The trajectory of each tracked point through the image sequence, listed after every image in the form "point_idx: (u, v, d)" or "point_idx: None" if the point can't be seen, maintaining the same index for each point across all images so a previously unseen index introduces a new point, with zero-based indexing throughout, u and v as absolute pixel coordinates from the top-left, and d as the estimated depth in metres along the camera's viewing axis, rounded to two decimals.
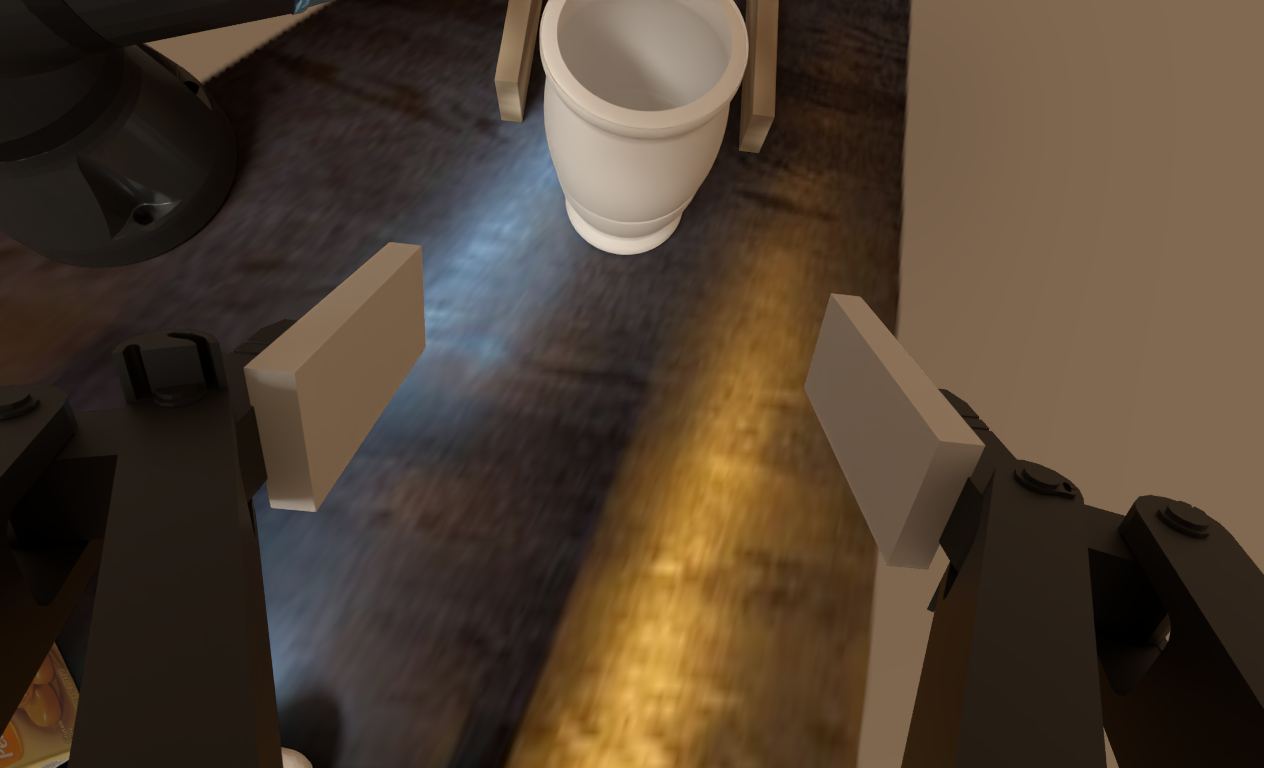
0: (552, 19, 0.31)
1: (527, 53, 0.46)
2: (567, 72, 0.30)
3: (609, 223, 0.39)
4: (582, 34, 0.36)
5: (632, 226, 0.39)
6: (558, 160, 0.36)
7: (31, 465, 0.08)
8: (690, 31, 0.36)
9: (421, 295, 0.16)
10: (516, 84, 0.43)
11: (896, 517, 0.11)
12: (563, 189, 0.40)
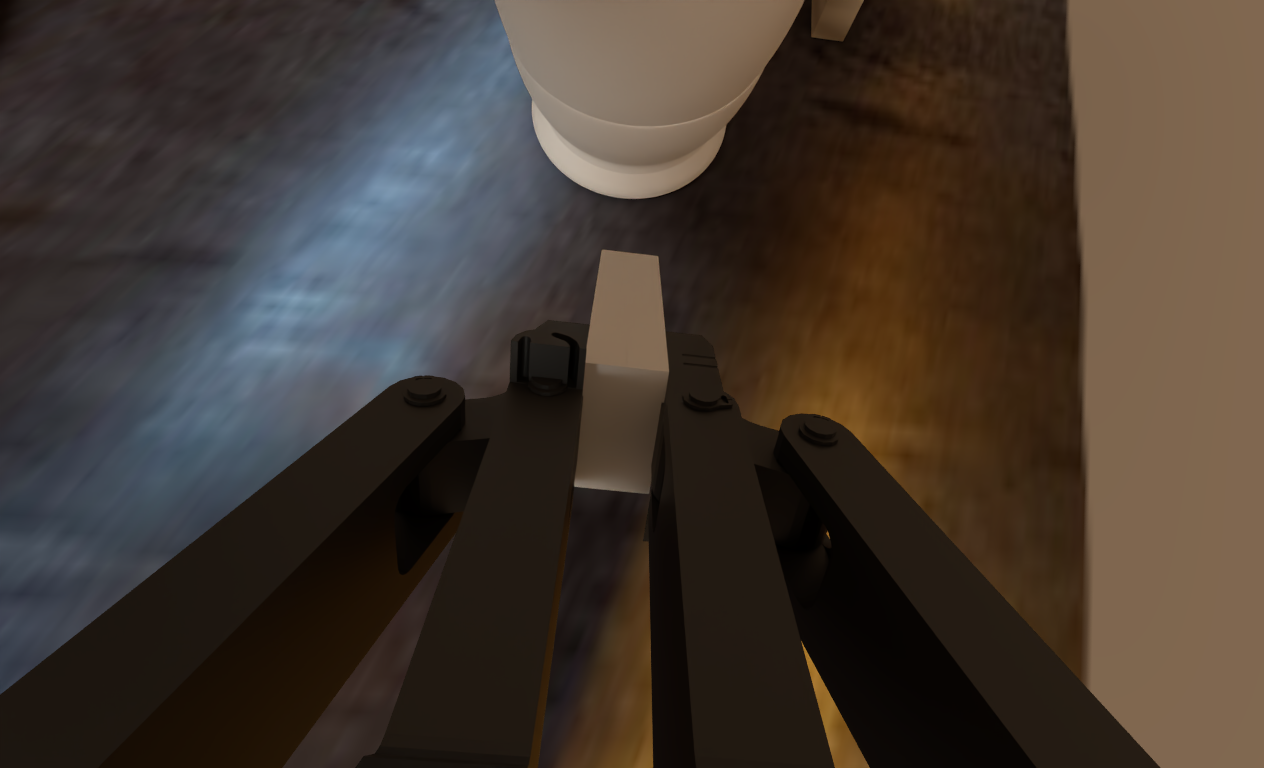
0: None
1: None
2: None
3: (604, 129, 0.21)
4: None
5: (646, 135, 0.21)
6: None
7: (426, 453, 0.09)
8: None
9: None
10: None
11: None
12: (521, 70, 0.22)
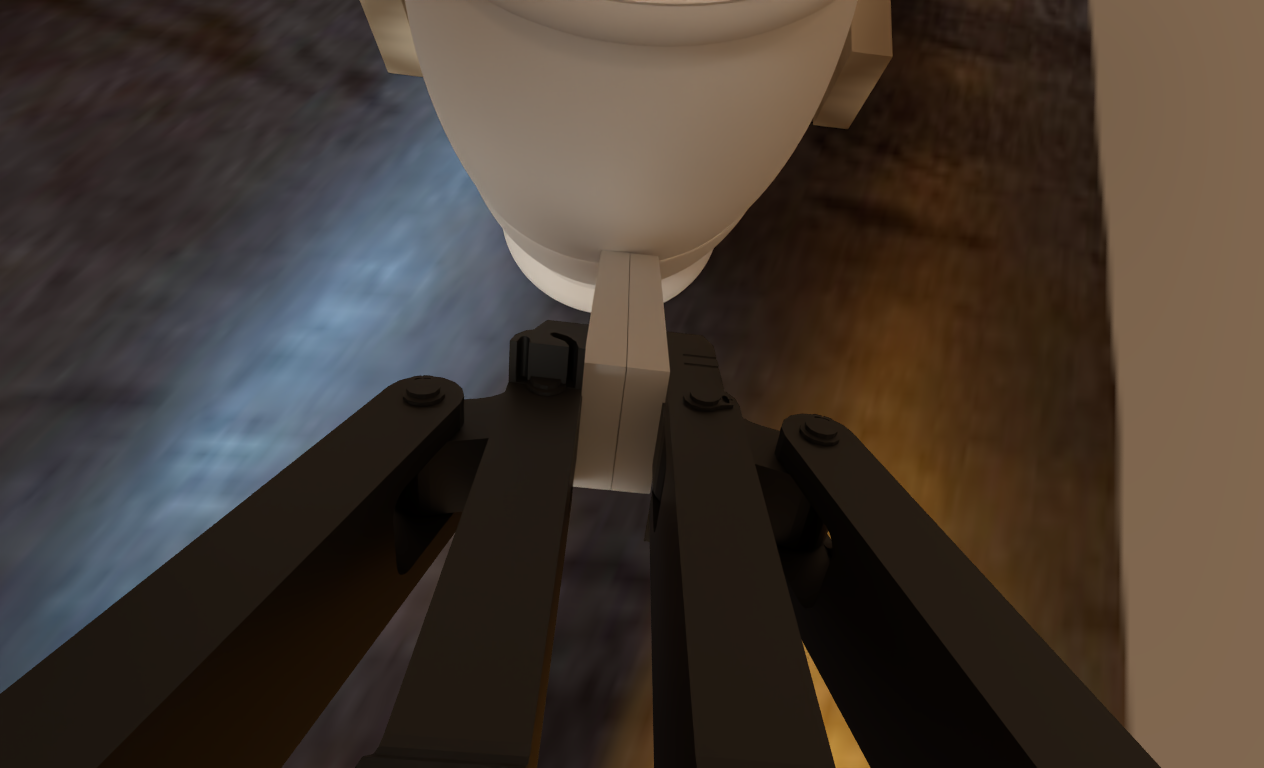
0: None
1: None
2: None
3: (576, 265, 0.19)
4: None
5: None
6: (447, 127, 0.15)
7: (425, 453, 0.09)
8: None
9: None
10: None
11: (616, 444, 0.12)
12: None
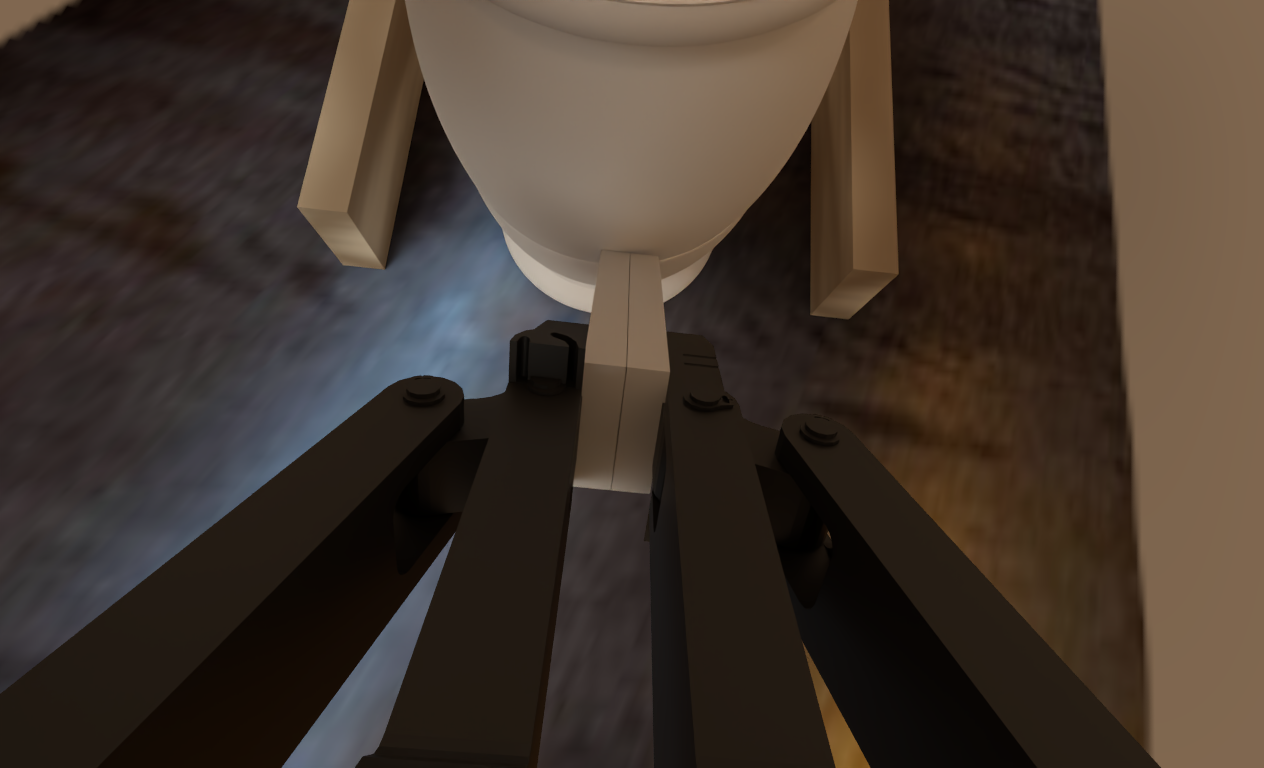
0: None
1: (387, 136, 0.23)
2: None
3: (576, 265, 0.19)
4: None
5: None
6: (447, 128, 0.15)
7: (425, 453, 0.09)
8: None
9: None
10: (346, 215, 0.20)
11: (616, 444, 0.12)
12: (480, 194, 0.19)
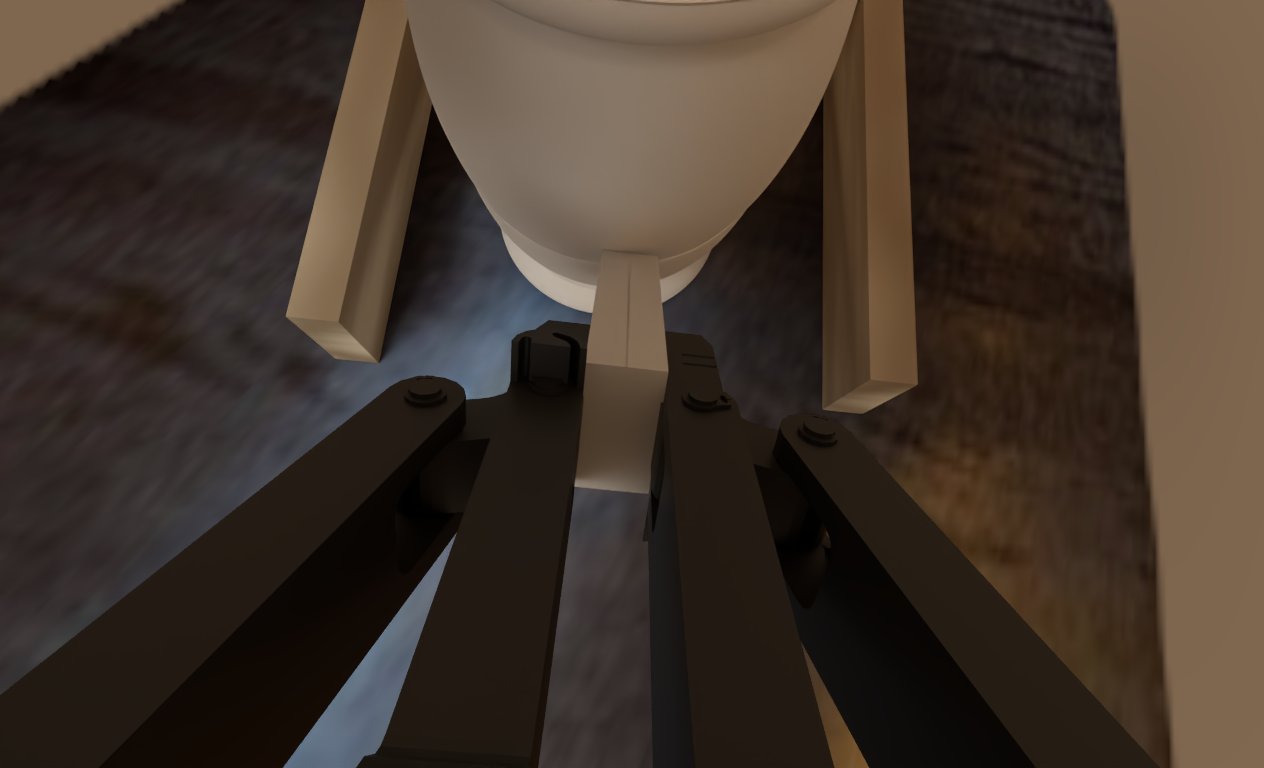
0: None
1: (382, 228, 0.22)
2: None
3: (577, 265, 0.19)
4: None
5: None
6: (448, 129, 0.15)
7: (427, 453, 0.09)
8: None
9: None
10: (338, 323, 0.19)
11: None
12: (480, 195, 0.19)
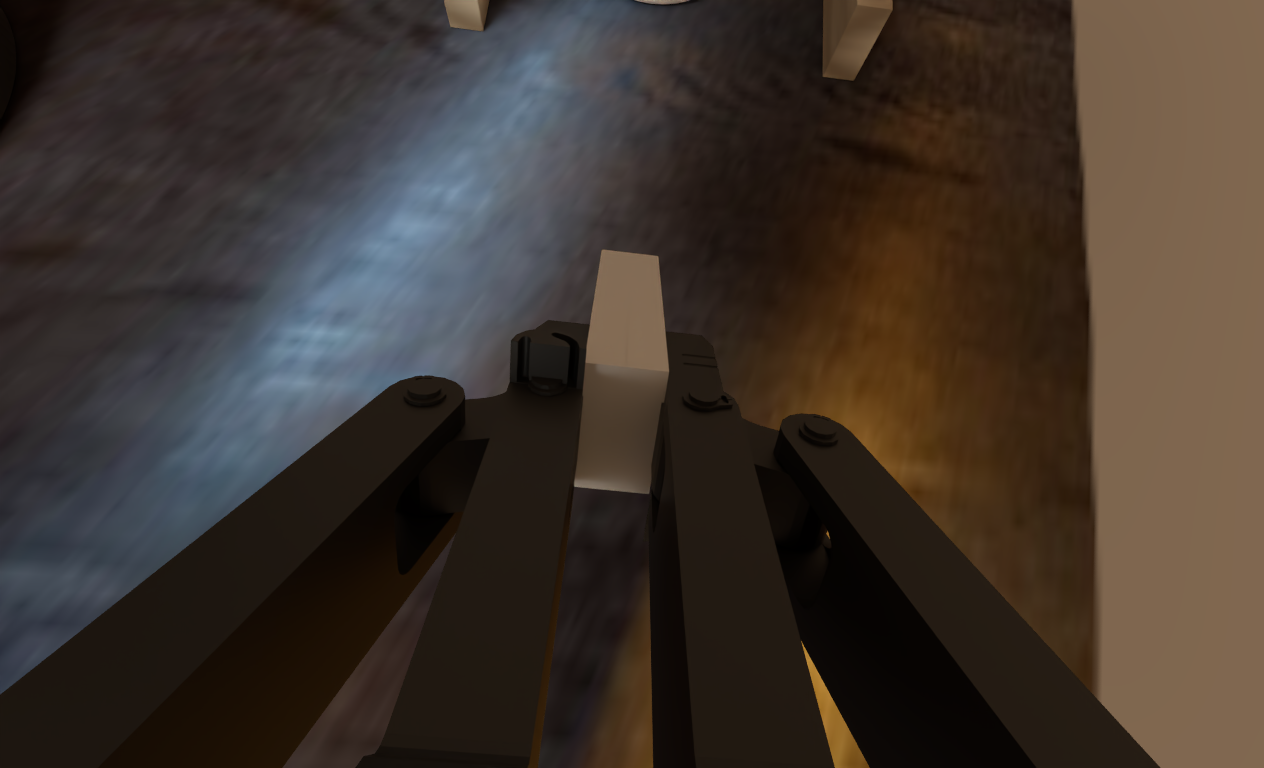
0: None
1: None
2: None
3: None
4: None
5: None
6: None
7: (426, 453, 0.09)
8: None
9: None
10: None
11: None
12: None
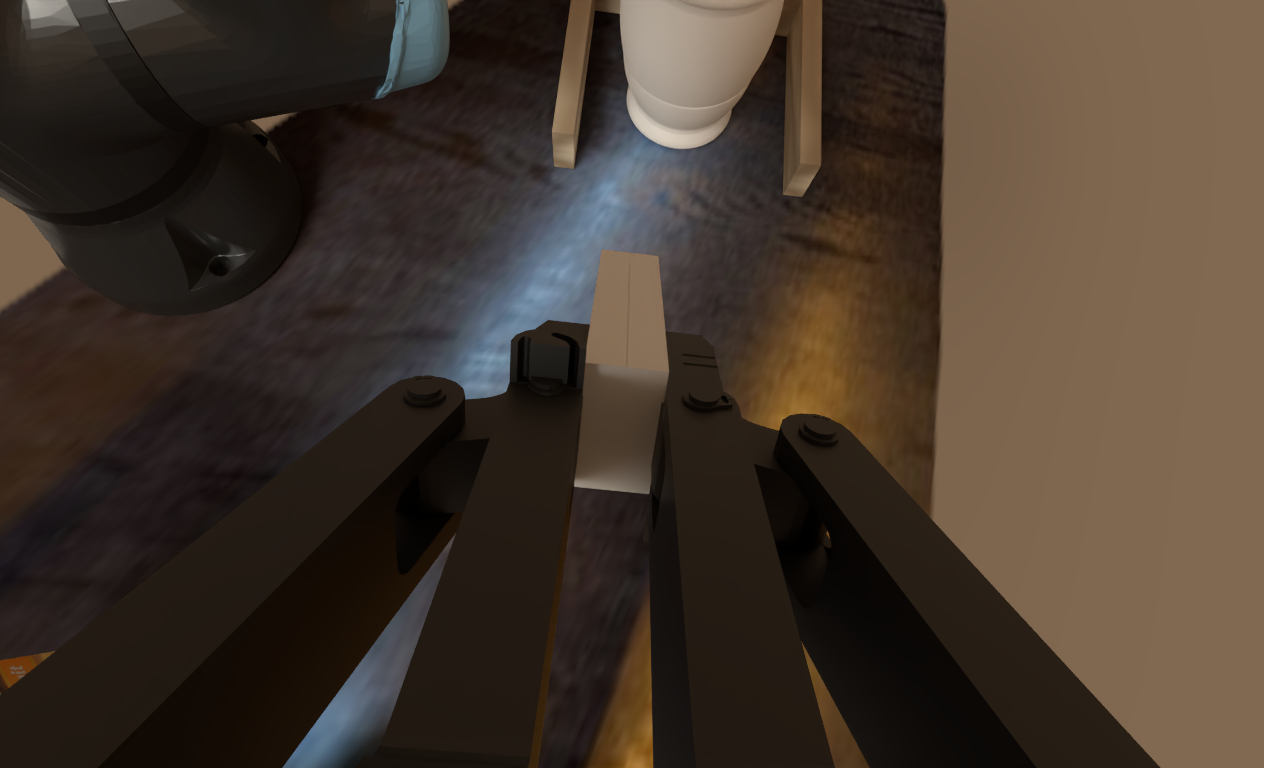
0: None
1: (580, 103, 0.47)
2: None
3: (674, 109, 0.44)
4: None
5: (694, 112, 0.44)
6: (634, 45, 0.41)
7: (426, 453, 0.09)
8: None
9: None
10: (572, 135, 0.45)
11: None
12: (632, 81, 0.45)
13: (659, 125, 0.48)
